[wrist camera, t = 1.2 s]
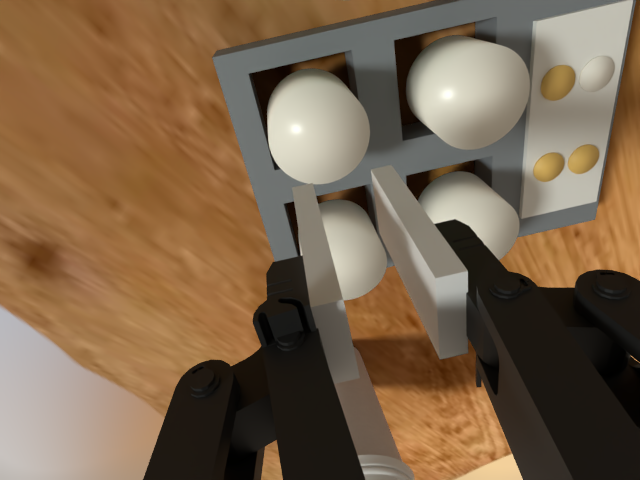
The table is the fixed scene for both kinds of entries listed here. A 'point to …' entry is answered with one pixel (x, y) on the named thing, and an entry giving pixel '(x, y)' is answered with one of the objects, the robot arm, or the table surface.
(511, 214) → the button
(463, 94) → the button
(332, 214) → the button
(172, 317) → the table surface
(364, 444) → the coffee cup
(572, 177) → the board
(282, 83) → the button
